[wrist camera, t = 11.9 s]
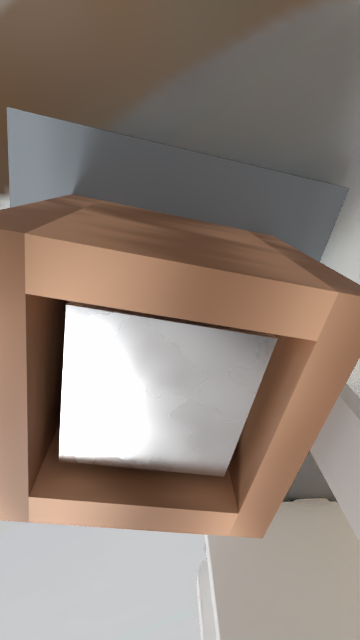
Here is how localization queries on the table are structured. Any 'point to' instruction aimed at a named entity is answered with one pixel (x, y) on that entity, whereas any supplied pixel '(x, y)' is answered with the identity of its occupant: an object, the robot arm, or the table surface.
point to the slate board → (166, 181)
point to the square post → (156, 389)
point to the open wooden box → (177, 302)
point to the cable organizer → (284, 579)
